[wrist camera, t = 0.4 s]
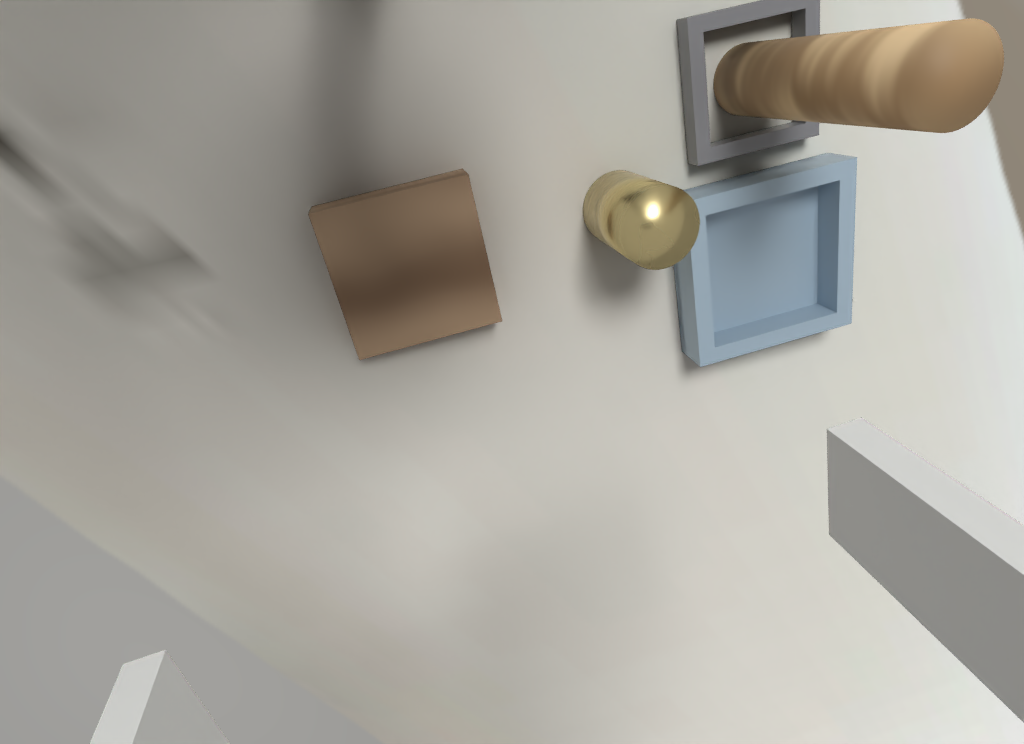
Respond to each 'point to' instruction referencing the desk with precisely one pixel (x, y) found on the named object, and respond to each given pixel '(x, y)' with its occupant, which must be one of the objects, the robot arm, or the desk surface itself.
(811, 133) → the holder
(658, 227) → the cylinder
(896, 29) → the dowel
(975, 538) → the robot arm
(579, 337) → the desk surface
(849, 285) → the tray
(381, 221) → the flat cardboard box
